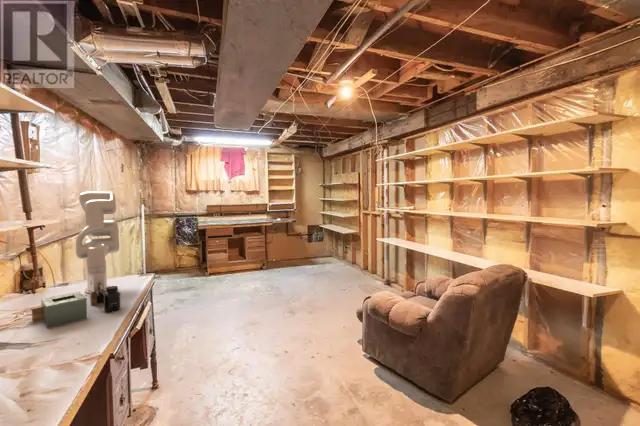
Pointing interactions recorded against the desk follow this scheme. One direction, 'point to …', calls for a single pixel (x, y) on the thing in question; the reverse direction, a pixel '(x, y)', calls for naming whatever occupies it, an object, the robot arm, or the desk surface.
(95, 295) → the block
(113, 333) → the desk surface
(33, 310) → the token
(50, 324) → the box
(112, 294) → the supplement bottle
